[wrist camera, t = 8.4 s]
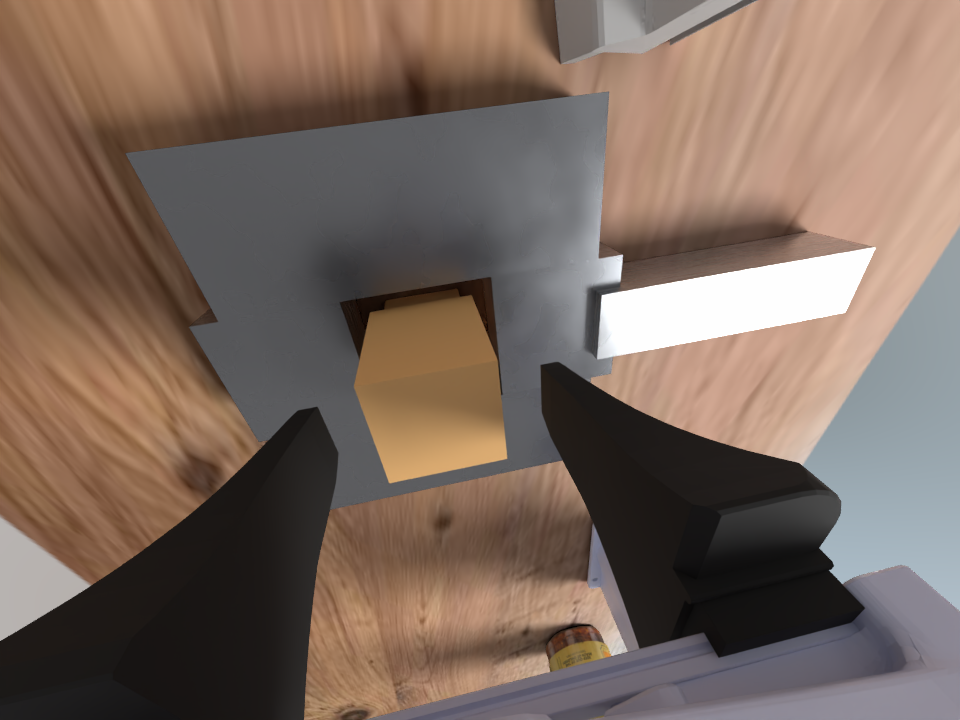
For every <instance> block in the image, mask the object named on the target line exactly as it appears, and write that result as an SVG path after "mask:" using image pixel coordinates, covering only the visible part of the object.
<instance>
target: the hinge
mask: <svg viewBox="0 0 960 720" xmlns="http://www.w3.org/2000/svg"><path fill="white" fill-rule="evenodd" d="M554 1H555V11H556V21H557V31H558V41H559V51H560V61H561V64H570V63H576V62H579V61H581V60H584V59H587V58H589V57H592V56H595V55H597V54H600V53H603V52H616V53H641V54H643V53H645V52H647V51H649V50H651V49H652V48H654V47H656V46H658V45H660V44H662V43H664V42H666V41H667V40H669V39H670V45H672V44H674V43H676V42H678V41H680V40H682V39H684V38H686V37H688V36H690V35H692V34H693V33H695V32H697V31H699V30H701V29H703V28H705V27H707V26H709V25H711V24H713V23H715V22H717V21H719V20H721V19H723V18H724V17H726V16H728V15H730V14H732V13H734V12H736V11H738V10H740V9H742V8H744V7H746V6H748V5H750V4H752V3H754V2H755V1H757V0H554Z"/></svg>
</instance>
